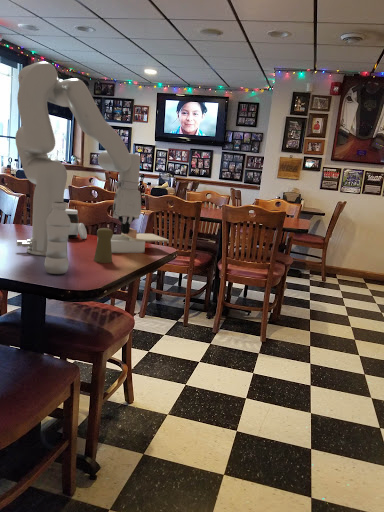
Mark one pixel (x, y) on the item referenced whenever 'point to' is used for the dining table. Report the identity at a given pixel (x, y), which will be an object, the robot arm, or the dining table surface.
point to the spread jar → (75, 225)
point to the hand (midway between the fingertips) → (125, 233)
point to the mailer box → (126, 245)
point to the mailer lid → (143, 236)
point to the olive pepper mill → (103, 246)
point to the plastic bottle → (57, 239)
